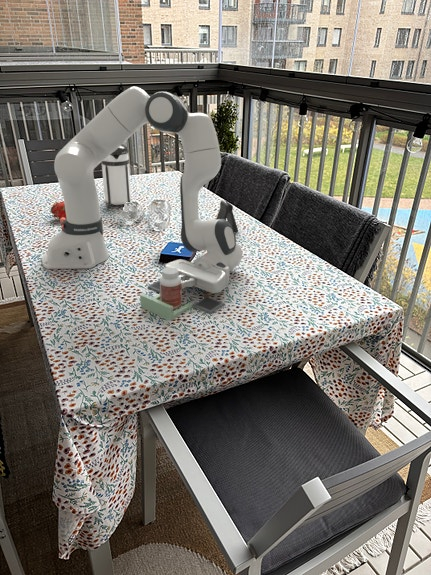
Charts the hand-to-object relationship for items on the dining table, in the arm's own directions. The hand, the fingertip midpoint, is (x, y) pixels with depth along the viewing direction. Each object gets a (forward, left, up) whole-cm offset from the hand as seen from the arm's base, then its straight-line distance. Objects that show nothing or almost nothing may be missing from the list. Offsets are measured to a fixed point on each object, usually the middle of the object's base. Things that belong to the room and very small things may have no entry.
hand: (178, 285), depth 130 cm
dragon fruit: (-33, +79, -5) cm, 85 cm away
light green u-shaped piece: (-4, -3, -5) cm, 7 cm away
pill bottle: (-2, -2, -5) cm, 6 cm away
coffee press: (-10, +96, -5) cm, 96 cm away
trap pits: (+3, +3, -5) cm, 7 cm away
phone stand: (+30, +52, -5) cm, 60 cm away
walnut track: (+10, +8, -5) cm, 13 cm away
